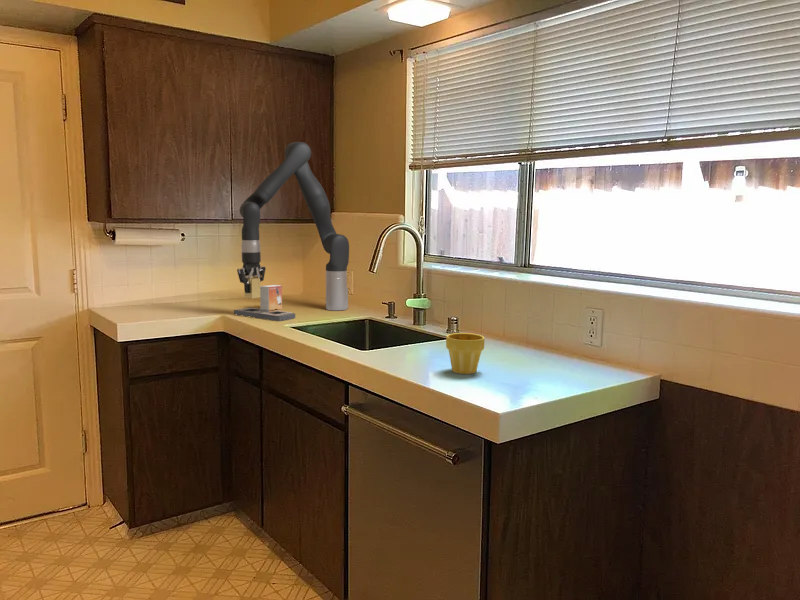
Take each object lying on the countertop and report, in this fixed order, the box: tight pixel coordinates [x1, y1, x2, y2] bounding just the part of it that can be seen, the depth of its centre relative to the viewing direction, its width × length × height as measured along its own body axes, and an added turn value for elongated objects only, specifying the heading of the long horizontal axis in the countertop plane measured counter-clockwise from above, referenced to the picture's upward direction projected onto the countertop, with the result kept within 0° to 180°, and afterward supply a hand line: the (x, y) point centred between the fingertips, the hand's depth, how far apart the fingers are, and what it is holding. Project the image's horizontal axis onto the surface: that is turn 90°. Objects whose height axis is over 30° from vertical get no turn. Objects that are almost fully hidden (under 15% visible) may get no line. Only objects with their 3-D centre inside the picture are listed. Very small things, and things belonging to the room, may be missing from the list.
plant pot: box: [445, 332, 486, 375], centre depth 176 cm, size 10×10×10 cm
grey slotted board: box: [233, 307, 296, 322], centre depth 264 cm, size 9×26×2 cm, turn 56°
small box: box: [259, 284, 283, 311], centre depth 283 cm, size 8×6×10 cm
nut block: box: [243, 277, 261, 299], centre depth 266 cm, size 4×4×8 cm
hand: (252, 292), depth 267 cm, fingers closed on nut block, 4 cm apart
